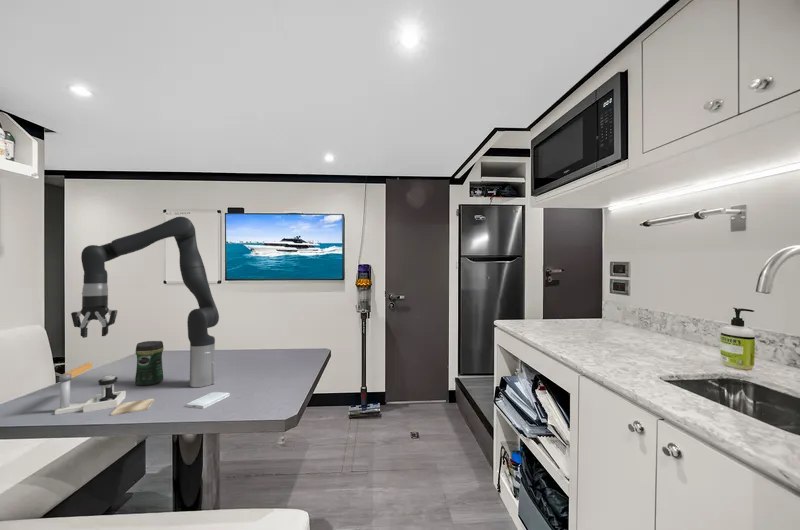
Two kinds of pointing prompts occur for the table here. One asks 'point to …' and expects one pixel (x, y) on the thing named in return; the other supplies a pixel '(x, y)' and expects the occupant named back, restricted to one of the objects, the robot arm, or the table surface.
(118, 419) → the table surface
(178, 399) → the table surface
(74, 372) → the bar
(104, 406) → the socket housing
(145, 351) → the coffee jar
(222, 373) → the table surface
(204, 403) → the hard drive
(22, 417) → the table surface
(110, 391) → the push button
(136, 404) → the wood pad
